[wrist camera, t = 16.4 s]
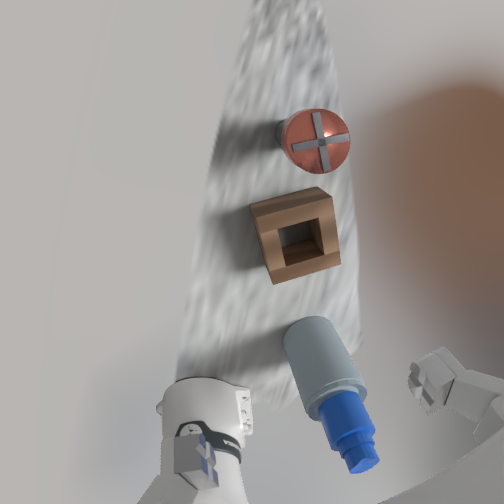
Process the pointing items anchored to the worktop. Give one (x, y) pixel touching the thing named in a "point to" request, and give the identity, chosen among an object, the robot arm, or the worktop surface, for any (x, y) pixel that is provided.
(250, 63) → the worktop surface
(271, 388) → the worktop surface
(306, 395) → the spray bottle
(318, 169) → the copper cross-head bolt
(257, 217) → the block
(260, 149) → the worktop surface
